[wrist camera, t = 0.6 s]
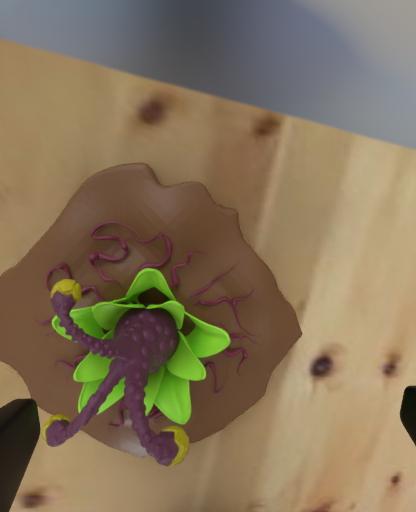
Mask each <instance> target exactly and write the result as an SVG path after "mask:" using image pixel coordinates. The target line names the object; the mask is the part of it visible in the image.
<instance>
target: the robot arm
mask: <svg viewBox="0 0 416 512" xmlns="http://www.w3.org/2000/svg"><path fill="white" fill-rule="evenodd" d="M400 418H401V421H402V424H403V426H404V427H405V429H406V430H407V432H408V434H409V435H410V437H411V439H412V440H413V442H414V444H415V445H416V386H408V387H406V389H405V391H404V395H403V400H402V405H401V410H400ZM39 435H40V422H39V416H38V409H37V404H36V401H35V400H34V399H16V400H13V401H11V402H10V403H8V404H6V405H5V406H3V407H2V408H0V512H9V510H10V508H11V506H12V503H13V501H14V498H15V496H16V493H17V491H18V488H19V486H20V483H21V481H22V478H23V476H24V474H25V471H26V469H27V466H28V464H29V461H30V459H31V456H32V454H33V451H34V449H35V447H36V444H37V442H38V439H39Z"/></svg>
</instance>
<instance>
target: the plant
mask: <svg viewBox="0 0 416 512" xmlns="http://www.w3.org/2000/svg"><path fill="white" fill-rule="evenodd" d="M301 335H302V332H301V329H300V326H299V324H298V320H297V317H296V313H295V311H294V309H293V307H292V306H291V305H290V303H289V302H288V301H287V300H286V299H285V298H284V297H283V295H282V294H281V292H280V291H279V289H278V286H277V283H276V280H275V278H274V275H273V273H272V272H271V270H270V269H269V267H268V266H267V265H266V264H265V263H264V262H263V261H262V260H261V259H260V258H259V256H258V255H257V254H256V253H255V252H254V251H253V250H252V248H251V247H250V246H249V245H248V244H247V243H246V242H245V240H244V239H243V237H242V234H241V231H240V227H239V220H238V211H237V210H236V209H233V208H226V207H222V206H220V205H218V204H217V203H216V202H215V201H214V200H213V199H212V197H211V196H210V194H209V192H208V190H207V189H206V187H205V186H204V185H203V184H201V183H199V182H187V183H182V184H179V185H175V186H162V185H161V184H160V183H159V181H158V180H157V178H156V175H155V173H154V172H153V170H152V169H151V168H150V167H149V165H147V164H145V163H133V164H123V165H118V166H114V167H110V168H108V169H105V170H102V171H100V172H98V173H96V174H94V175H93V176H91V177H90V178H89V179H87V180H86V181H85V182H84V183H83V184H82V186H81V187H80V188H79V189H78V190H77V191H76V193H75V194H74V195H73V197H72V198H71V199H70V201H69V202H68V204H67V205H66V206H65V208H64V209H63V211H62V212H61V214H60V215H59V217H58V218H57V220H56V221H55V222H54V224H53V225H52V226H51V227H50V229H49V230H48V231H47V232H46V233H45V234H44V235H43V236H42V237H41V238H40V240H39V241H38V242H37V243H36V244H35V245H34V246H33V247H32V248H31V250H30V251H29V252H28V253H27V254H26V256H25V257H24V258H23V259H22V260H21V261H20V262H19V263H18V264H17V265H16V266H14V267H12V268H10V269H8V270H7V271H5V272H4V273H3V274H2V275H1V276H0V361H2V362H4V363H6V364H8V365H10V366H11V367H12V368H14V369H15V370H16V371H17V372H18V373H19V374H20V376H21V377H22V378H23V380H24V382H25V383H26V385H27V387H28V389H29V392H30V395H31V399H34V400H35V401H36V404H37V406H38V407H40V408H41V409H42V410H44V411H46V412H48V413H50V414H53V415H54V416H52V417H50V418H49V420H48V421H47V422H46V423H45V425H44V427H43V431H42V437H43V439H44V441H45V443H46V444H48V445H49V446H51V447H56V446H59V445H61V444H63V443H64V442H65V441H66V440H67V439H69V438H71V437H72V436H73V435H74V434H75V433H77V432H78V431H79V430H80V429H81V430H82V431H84V432H85V433H87V434H88V435H90V436H91V437H93V438H95V439H97V440H98V441H100V442H102V443H104V444H105V445H107V446H110V447H112V448H115V449H118V450H121V451H123V452H127V453H130V454H133V455H135V456H139V457H146V456H149V455H150V456H153V457H154V458H155V459H156V461H157V462H158V463H159V464H161V465H165V466H168V467H171V466H173V465H176V464H178V463H181V462H182V461H183V459H184V457H185V456H186V455H187V452H188V449H189V444H190V443H194V442H197V441H200V440H202V439H204V438H206V437H208V436H210V435H212V434H214V433H216V432H218V431H220V430H221V429H223V428H224V427H226V426H227V425H228V424H229V423H231V422H232V421H233V420H234V419H235V418H236V417H238V416H239V415H241V414H242V413H244V412H245V411H246V410H247V409H249V408H250V407H251V406H253V405H254V404H255V403H257V402H258V401H259V400H260V399H261V398H262V397H263V396H264V394H265V392H266V388H267V384H268V381H269V378H270V375H271V373H272V372H273V370H274V369H275V367H276V366H277V365H278V364H279V363H280V361H281V360H282V359H283V358H284V356H285V355H286V354H287V353H288V351H289V350H290V348H291V347H292V346H293V345H294V344H295V343H296V341H297V340H298V339H299V338H300V337H301Z"/></svg>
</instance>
